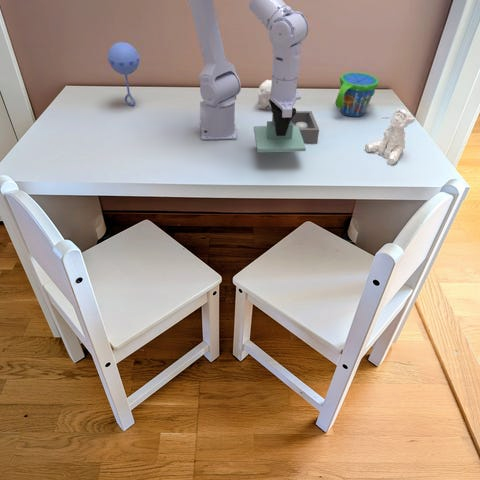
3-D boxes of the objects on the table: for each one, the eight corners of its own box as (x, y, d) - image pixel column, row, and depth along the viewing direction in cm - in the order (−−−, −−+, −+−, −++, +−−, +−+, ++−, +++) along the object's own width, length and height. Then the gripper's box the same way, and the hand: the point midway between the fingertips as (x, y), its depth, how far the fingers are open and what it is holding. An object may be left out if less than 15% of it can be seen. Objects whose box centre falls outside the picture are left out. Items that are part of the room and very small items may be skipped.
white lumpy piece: (258, 82, 116) (260, 71, 126) (256, 112, 121) (259, 99, 131) (280, 84, 116) (281, 72, 125) (277, 113, 121) (278, 100, 130)
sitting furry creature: (362, 150, 106) (373, 106, 98) (383, 141, 110) (396, 98, 102) (391, 166, 101) (405, 121, 93) (412, 156, 105) (428, 112, 96)
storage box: (276, 144, 108) (277, 130, 105) (271, 124, 116) (272, 111, 113) (317, 143, 108) (319, 129, 106) (309, 124, 117) (311, 111, 114)
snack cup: (357, 100, 129) (365, 67, 122) (383, 112, 123) (392, 79, 116) (321, 111, 123) (326, 77, 116) (345, 125, 116) (353, 90, 110)
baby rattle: (152, 103, 125) (143, 41, 112) (132, 114, 119) (121, 50, 107) (131, 97, 128) (120, 36, 116) (111, 107, 123) (98, 44, 110)
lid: (257, 154, 96) (258, 135, 92) (253, 131, 104) (254, 113, 101) (305, 153, 96) (307, 134, 93) (297, 130, 105) (299, 112, 101)
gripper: (308, 88, 84) (301, 147, 93) (297, 63, 95) (291, 118, 104) (275, 89, 84) (270, 147, 93) (267, 63, 94) (264, 118, 104)
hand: (279, 132), depth 98 cm, fingers closed on lid, 2 cm apart
